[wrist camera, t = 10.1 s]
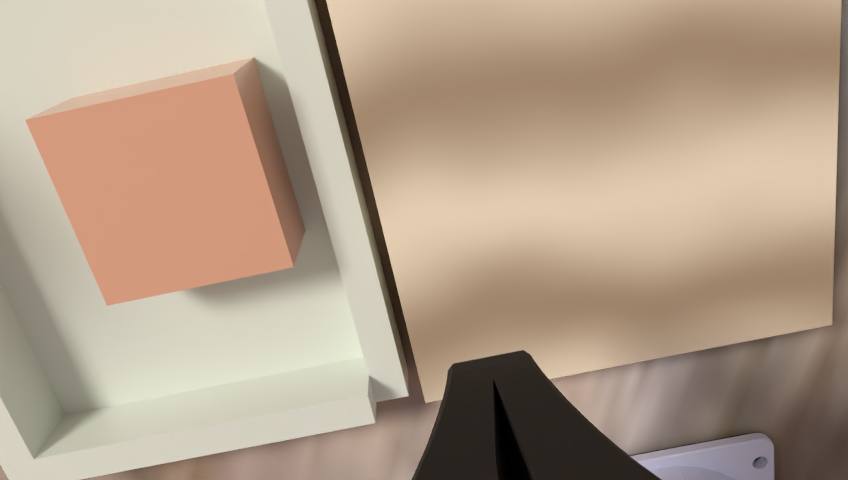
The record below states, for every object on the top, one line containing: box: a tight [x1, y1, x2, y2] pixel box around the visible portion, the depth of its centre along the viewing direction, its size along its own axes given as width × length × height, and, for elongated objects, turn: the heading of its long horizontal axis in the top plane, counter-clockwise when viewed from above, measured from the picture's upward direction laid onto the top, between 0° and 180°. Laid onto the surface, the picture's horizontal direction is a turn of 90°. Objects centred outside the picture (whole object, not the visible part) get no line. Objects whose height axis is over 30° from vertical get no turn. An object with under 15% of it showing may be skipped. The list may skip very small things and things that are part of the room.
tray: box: [0, 0, 409, 480], centre depth 19 cm, size 16×12×2 cm
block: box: [25, 57, 305, 306], centre depth 18 cm, size 5×5×2 cm
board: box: [326, 0, 842, 403], centre depth 18 cm, size 16×12×2 cm
